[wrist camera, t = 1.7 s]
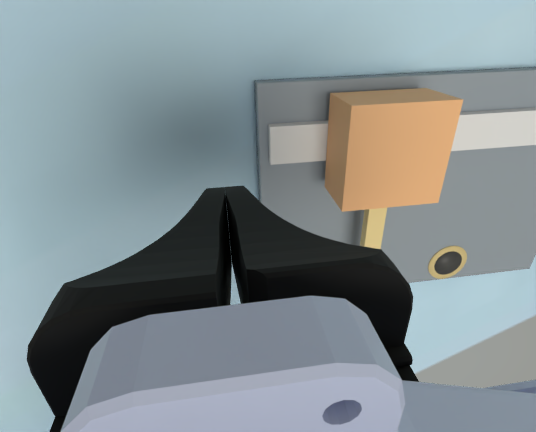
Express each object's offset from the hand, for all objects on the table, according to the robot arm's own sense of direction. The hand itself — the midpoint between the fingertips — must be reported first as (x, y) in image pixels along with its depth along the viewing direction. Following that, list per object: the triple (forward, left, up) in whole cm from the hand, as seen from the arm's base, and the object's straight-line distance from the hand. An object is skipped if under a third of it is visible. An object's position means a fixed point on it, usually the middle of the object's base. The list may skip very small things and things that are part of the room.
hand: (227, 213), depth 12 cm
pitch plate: (+12, -4, -8) cm, 15 cm away
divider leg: (+8, -4, -7) cm, 11 cm away
